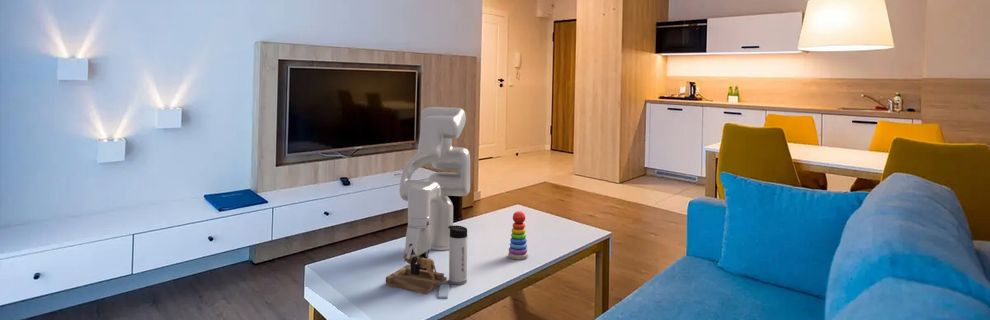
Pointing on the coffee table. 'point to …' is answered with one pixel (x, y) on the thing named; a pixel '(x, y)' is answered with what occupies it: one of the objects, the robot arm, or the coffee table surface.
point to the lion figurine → (425, 265)
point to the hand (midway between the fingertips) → (419, 271)
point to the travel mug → (458, 255)
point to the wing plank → (443, 292)
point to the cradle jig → (414, 280)
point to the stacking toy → (518, 237)
